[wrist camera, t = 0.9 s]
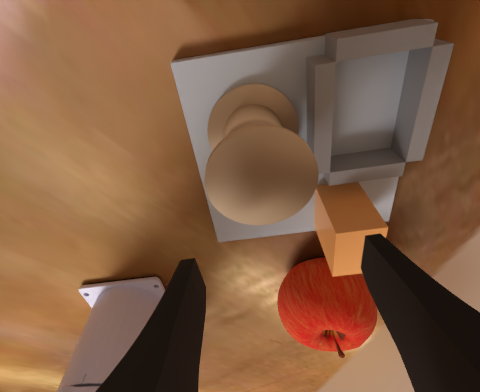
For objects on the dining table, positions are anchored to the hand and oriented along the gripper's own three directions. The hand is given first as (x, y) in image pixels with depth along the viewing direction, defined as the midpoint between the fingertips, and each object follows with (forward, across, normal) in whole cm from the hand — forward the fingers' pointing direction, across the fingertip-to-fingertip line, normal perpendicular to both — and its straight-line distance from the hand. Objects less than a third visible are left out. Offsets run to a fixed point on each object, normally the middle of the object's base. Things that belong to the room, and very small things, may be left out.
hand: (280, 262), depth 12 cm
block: (+9, -5, +5) cm, 11 cm away
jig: (+10, -3, 0) cm, 10 cm away
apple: (+10, -4, +13) cm, 17 cm away
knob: (+10, 0, -2) cm, 10 cm away
